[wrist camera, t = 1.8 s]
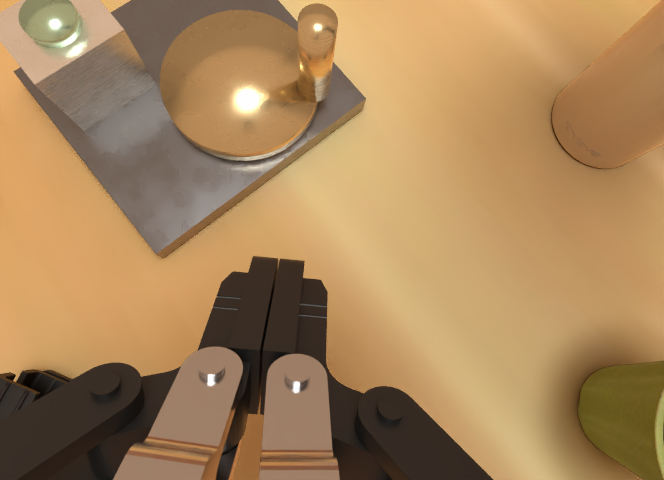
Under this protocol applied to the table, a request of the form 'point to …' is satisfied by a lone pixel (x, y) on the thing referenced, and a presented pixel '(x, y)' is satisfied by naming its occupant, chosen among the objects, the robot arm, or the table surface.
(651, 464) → the plant pot
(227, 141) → the brass dish with post
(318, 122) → the base
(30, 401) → the end cap
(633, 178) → the table surface
